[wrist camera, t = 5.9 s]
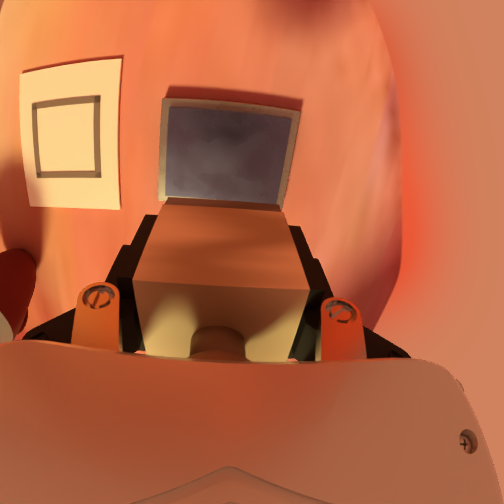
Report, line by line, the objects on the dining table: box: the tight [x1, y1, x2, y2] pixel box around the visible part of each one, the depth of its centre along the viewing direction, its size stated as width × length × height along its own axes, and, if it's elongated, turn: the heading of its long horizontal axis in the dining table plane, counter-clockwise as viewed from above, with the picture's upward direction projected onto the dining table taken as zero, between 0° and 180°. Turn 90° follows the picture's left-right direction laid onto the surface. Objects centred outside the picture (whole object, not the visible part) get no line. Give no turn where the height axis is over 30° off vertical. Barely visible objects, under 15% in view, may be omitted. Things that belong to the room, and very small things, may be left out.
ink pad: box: [158, 97, 301, 210], centre depth 24 cm, size 11×9×2 cm
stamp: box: [132, 197, 310, 362], centre depth 9 cm, size 4×4×9 cm
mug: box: [0, 249, 36, 344], centre depth 25 cm, size 10×8×10 cm
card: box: [20, 59, 122, 210], centre depth 22 cm, size 11×14×1 cm
